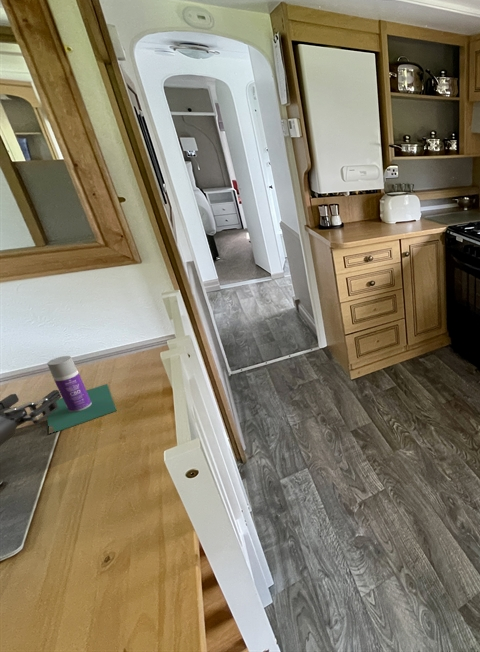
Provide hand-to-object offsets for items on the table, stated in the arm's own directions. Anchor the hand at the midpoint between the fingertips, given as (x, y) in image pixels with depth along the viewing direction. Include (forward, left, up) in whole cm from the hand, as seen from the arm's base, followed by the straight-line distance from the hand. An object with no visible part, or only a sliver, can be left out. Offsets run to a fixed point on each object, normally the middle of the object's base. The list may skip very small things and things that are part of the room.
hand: (36, 395), depth 92 cm
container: (+8, +5, -11) cm, 14 cm away
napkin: (+8, +5, -11) cm, 15 cm away
